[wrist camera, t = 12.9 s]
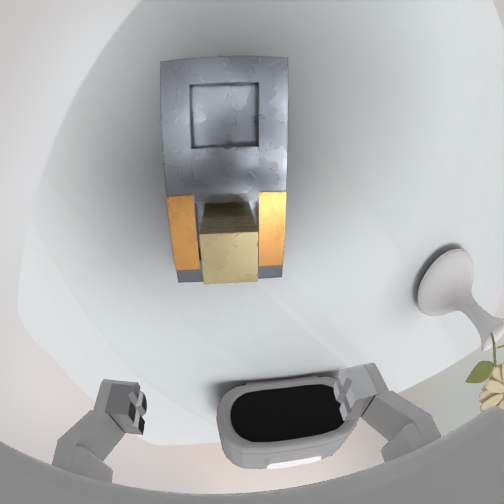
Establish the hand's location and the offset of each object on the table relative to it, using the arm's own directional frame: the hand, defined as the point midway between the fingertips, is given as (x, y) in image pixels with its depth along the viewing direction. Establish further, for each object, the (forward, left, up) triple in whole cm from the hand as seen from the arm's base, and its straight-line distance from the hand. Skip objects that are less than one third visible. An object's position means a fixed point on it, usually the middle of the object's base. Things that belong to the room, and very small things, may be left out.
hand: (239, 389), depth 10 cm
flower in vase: (+10, +30, -19) cm, 37 cm away
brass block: (0, 0, -18) cm, 18 cm away
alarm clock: (+30, +7, -19) cm, 36 cm away
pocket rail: (-5, 0, -19) cm, 20 cm away
